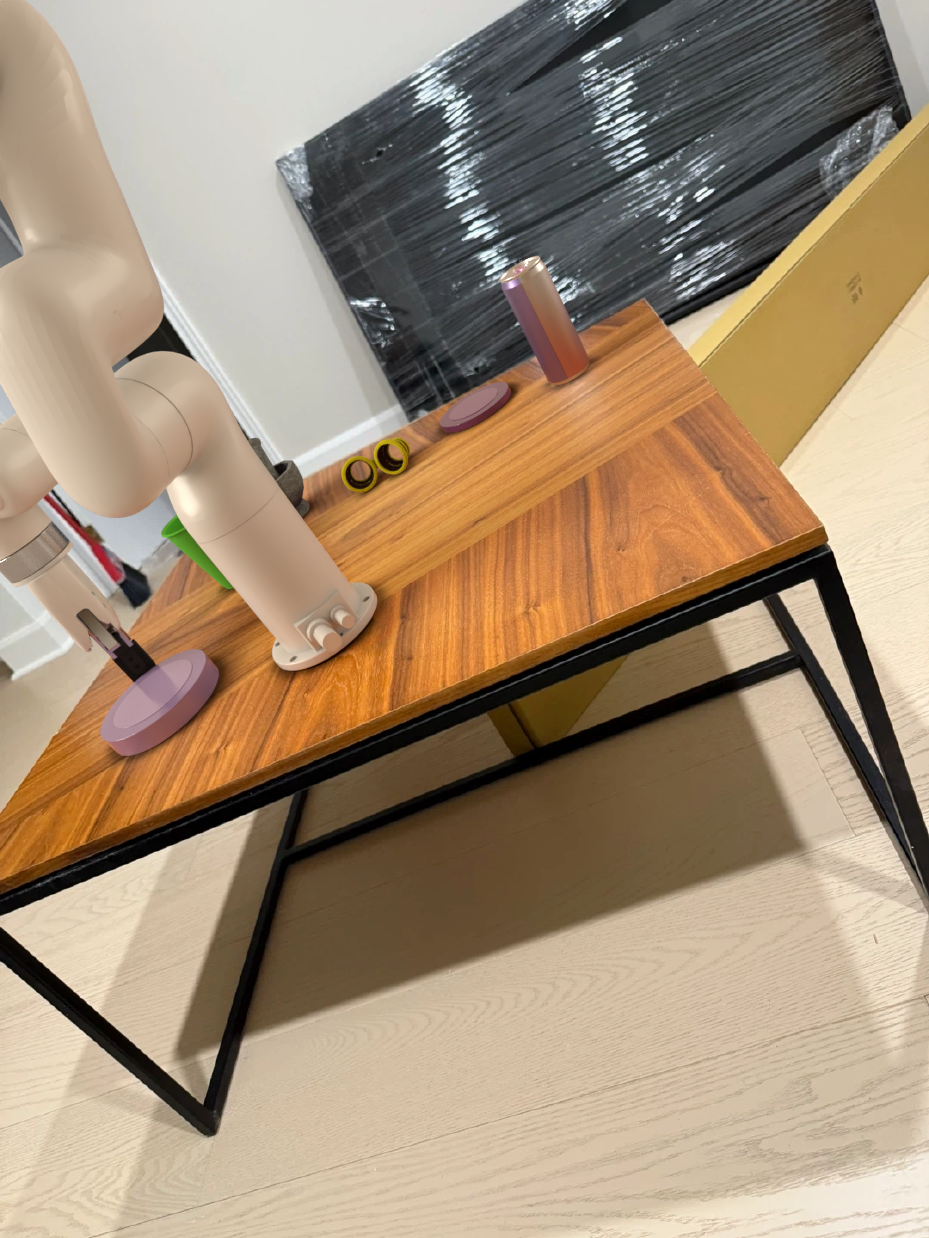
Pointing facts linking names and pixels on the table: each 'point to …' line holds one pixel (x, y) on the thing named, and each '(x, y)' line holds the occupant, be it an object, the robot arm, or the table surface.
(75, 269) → the robot arm
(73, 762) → the table surface
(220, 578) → the cup
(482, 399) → the plum dish
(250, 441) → the mortar and pestle
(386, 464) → the opera glasses
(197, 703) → the lavender dish
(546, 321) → the beverage can
